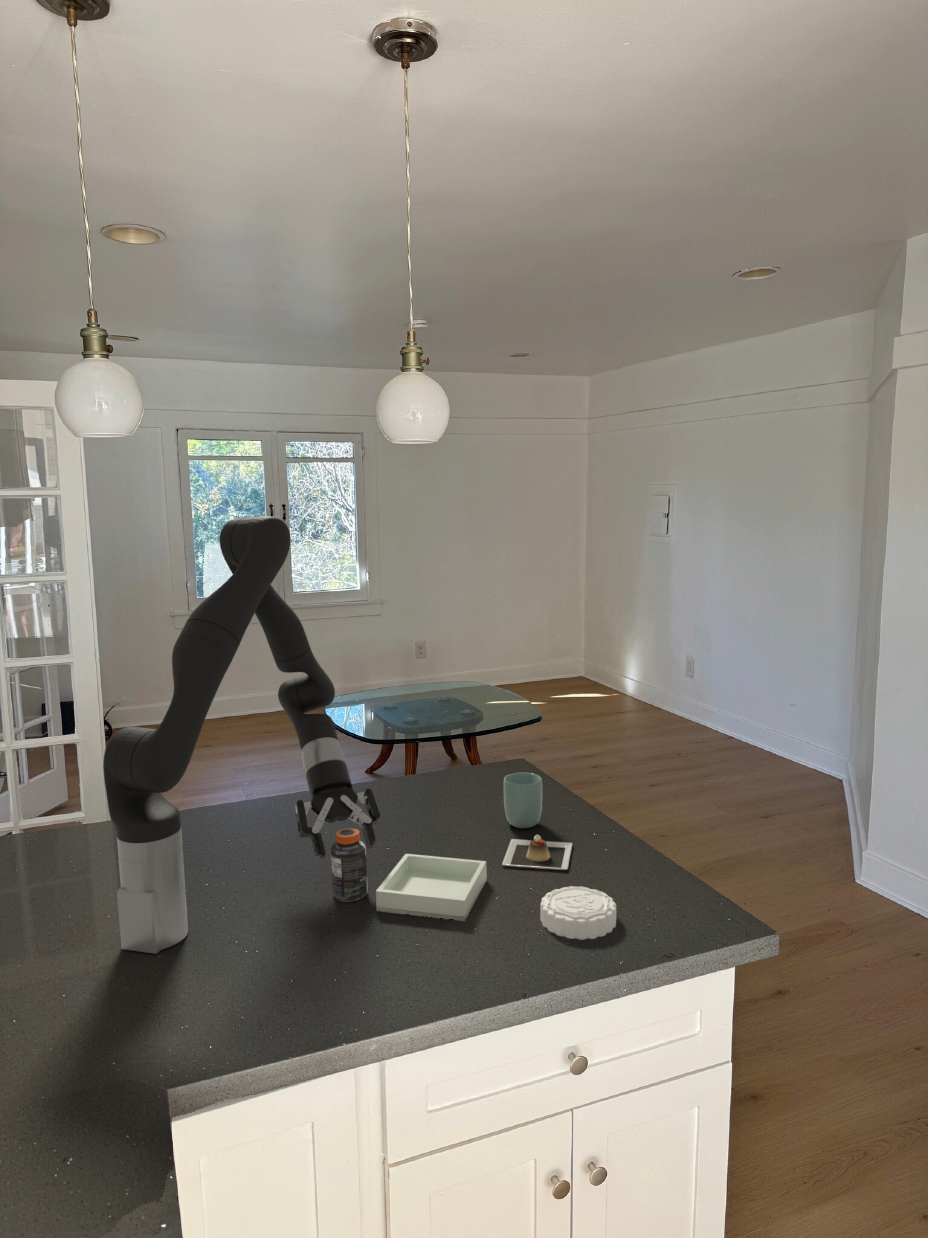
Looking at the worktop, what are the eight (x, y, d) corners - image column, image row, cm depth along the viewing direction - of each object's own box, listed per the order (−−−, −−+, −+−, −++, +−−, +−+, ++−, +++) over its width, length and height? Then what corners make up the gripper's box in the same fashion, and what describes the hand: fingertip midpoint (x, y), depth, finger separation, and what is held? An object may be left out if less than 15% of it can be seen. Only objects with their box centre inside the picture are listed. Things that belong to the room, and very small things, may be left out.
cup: (497, 822, 173) (497, 775, 172) (530, 815, 177) (530, 770, 175) (515, 835, 166) (515, 787, 165) (549, 828, 170) (548, 781, 168)
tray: (464, 921, 132) (464, 900, 132) (376, 911, 136) (375, 891, 135) (486, 880, 146) (486, 861, 146) (406, 872, 150) (405, 853, 150)
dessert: (567, 875, 149) (567, 849, 148) (501, 870, 152) (501, 845, 151) (572, 848, 161) (572, 824, 160) (511, 844, 163) (511, 821, 163)
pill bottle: (371, 887, 145) (368, 825, 143) (363, 903, 139) (361, 839, 137) (337, 886, 145) (335, 824, 144) (328, 902, 139) (326, 838, 138)
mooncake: (557, 946, 125) (557, 924, 124) (529, 909, 136) (529, 889, 136) (629, 934, 128) (630, 912, 127) (597, 899, 139) (597, 879, 139)
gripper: (289, 764, 145) (309, 851, 136) (367, 752, 151) (391, 834, 142) (284, 784, 150) (303, 869, 142) (359, 772, 156) (381, 852, 148)
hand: (347, 851), depth 142 cm, fingers open, 8 cm apart
